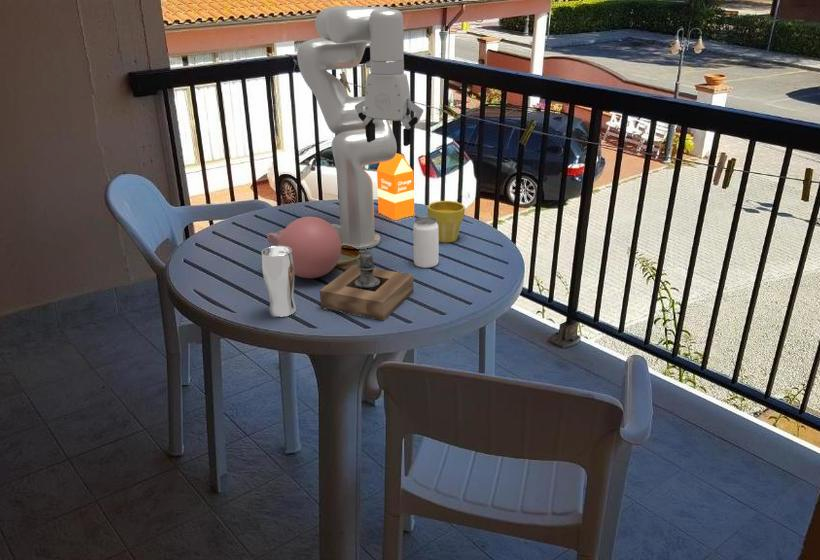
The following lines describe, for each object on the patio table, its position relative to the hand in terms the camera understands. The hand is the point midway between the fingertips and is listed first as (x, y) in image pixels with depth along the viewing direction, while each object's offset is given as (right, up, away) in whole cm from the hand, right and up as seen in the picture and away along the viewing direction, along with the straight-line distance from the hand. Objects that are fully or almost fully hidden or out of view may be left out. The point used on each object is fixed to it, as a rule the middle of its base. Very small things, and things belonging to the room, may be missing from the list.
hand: (389, 142), depth 163 cm
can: (+9, -28, +17) cm, 35 cm away
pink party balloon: (-22, -31, +13) cm, 40 cm away
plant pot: (+15, -21, +34) cm, 43 cm away
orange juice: (+1, -12, +53) cm, 54 cm away
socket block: (-5, -37, -2) cm, 38 cm away
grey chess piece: (-5, -36, -2) cm, 37 cm away
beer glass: (-24, -40, -7) cm, 47 cm away
